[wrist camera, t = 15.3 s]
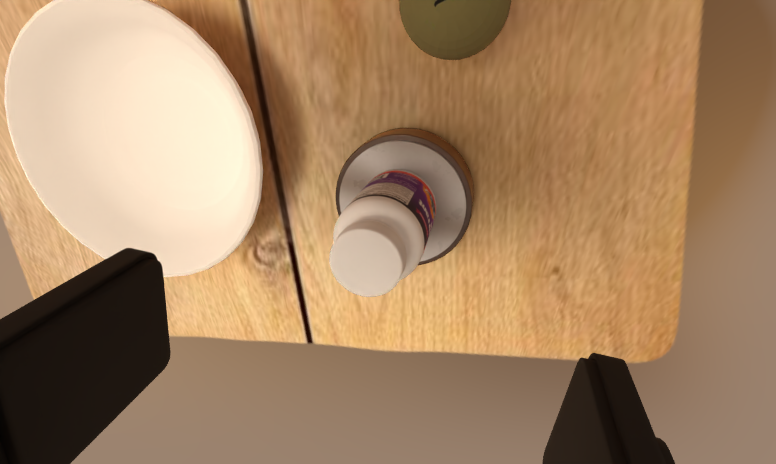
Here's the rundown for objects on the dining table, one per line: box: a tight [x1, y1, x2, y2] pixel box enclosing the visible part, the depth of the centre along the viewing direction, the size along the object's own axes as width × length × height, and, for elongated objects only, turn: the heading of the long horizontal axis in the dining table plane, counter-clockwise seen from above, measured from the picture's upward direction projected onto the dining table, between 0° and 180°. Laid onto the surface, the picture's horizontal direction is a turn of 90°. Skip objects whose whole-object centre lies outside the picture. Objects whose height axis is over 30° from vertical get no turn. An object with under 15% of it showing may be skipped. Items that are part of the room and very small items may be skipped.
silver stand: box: [336, 128, 474, 265], centre depth 34 cm, size 10×10×3 cm
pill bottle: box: [329, 169, 436, 297], centre depth 28 cm, size 5×5×10 cm
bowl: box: [5, 0, 263, 277], centre depth 34 cm, size 20×20×6 cm
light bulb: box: [399, 0, 511, 60], centre depth 25 cm, size 6×6×10 cm
